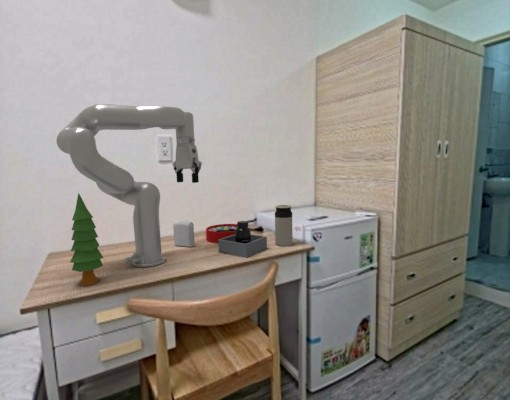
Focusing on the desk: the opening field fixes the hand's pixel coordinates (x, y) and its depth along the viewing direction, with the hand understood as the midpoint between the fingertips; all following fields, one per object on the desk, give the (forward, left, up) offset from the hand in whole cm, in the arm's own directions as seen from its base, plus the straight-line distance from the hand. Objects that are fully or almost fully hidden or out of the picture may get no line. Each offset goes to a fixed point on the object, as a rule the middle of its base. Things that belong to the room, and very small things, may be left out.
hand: (187, 182), depth 130 cm
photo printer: (+4, +9, -31) cm, 32 cm away
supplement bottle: (+12, -20, -30) cm, 38 cm away
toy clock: (+24, +1, -31) cm, 39 cm away
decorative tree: (-43, +2, -31) cm, 53 cm away
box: (+12, -20, -30) cm, 38 cm away
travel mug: (+30, -30, -31) cm, 52 cm away
